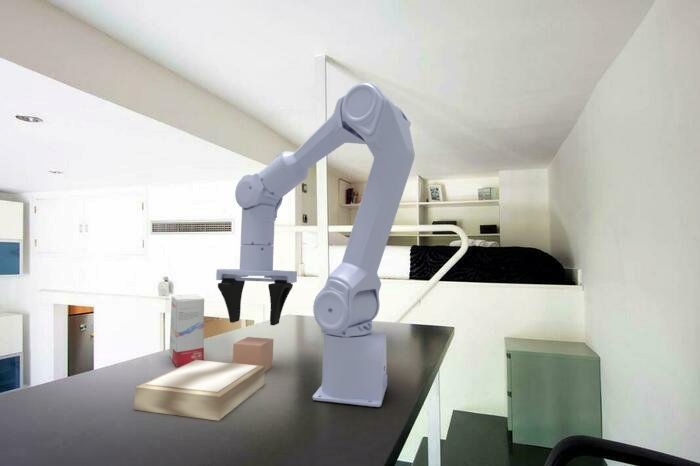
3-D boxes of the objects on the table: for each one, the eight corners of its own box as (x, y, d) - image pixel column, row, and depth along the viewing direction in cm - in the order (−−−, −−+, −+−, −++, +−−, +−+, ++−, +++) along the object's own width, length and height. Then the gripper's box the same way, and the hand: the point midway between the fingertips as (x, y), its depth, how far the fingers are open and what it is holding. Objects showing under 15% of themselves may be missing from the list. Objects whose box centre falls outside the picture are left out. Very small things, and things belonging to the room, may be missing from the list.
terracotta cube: (272, 367, 62) (273, 338, 62) (259, 376, 57) (260, 345, 57) (247, 364, 63) (248, 336, 63) (232, 373, 58) (233, 343, 58)
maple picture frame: (264, 384, 53) (264, 364, 53) (218, 420, 41) (219, 394, 42) (195, 377, 56) (195, 358, 56) (134, 409, 44) (135, 385, 44)
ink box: (204, 363, 63) (206, 298, 64) (173, 368, 60) (176, 299, 61) (195, 352, 70) (198, 293, 71) (167, 356, 67) (170, 294, 68)
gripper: (303, 246, 64) (301, 321, 63) (232, 245, 67) (229, 316, 66) (289, 245, 57) (286, 329, 56) (210, 244, 60) (206, 323, 59)
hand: (254, 322), depth 61 cm, fingers open, 7 cm apart
